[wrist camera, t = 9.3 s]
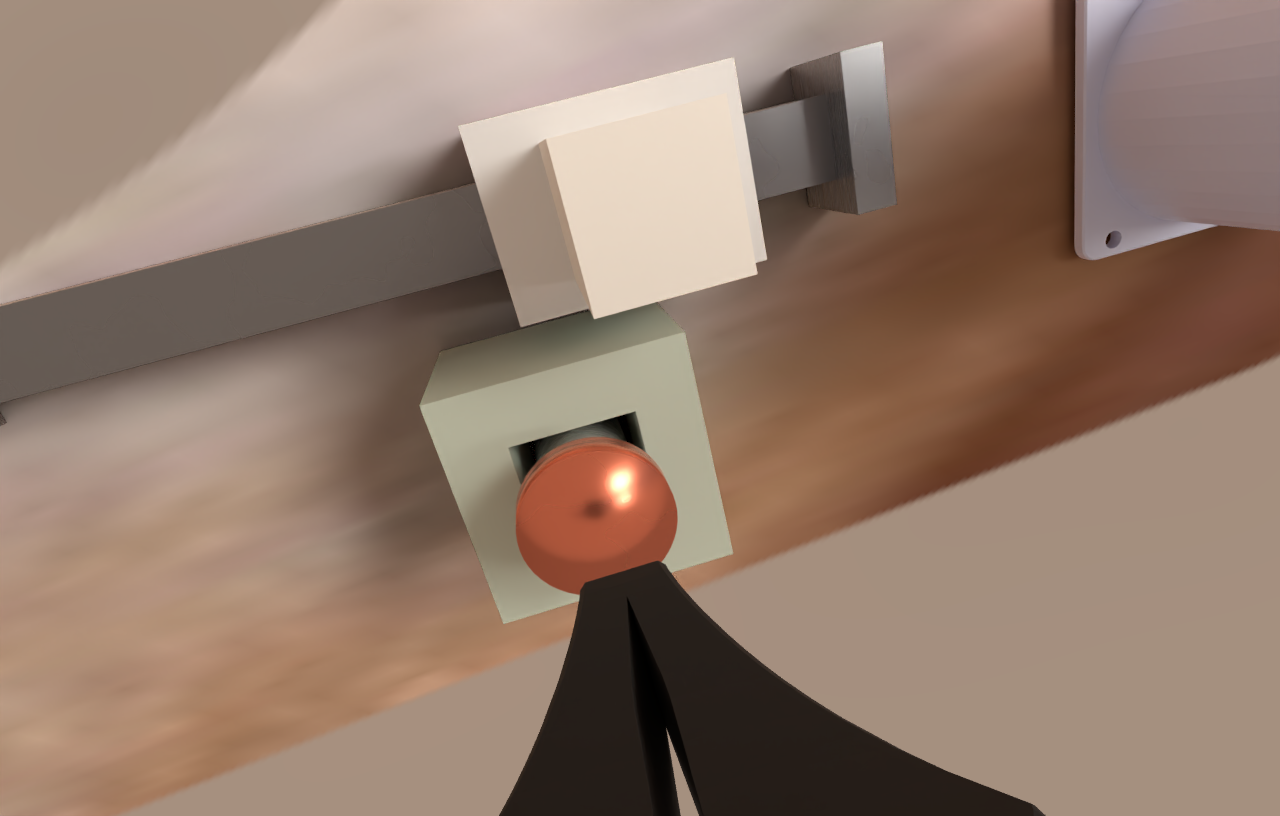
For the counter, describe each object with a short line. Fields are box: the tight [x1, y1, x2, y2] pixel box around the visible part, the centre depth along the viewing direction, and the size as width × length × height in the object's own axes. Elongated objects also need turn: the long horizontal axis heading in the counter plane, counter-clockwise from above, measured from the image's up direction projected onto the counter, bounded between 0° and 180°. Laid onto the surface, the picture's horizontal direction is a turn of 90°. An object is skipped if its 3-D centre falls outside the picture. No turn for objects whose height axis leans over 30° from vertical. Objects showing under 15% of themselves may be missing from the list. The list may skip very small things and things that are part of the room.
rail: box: [0, 41, 897, 426], centre depth 16 cm, size 24×4×3 cm, turn 104°
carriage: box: [458, 57, 767, 327], centre depth 15 cm, size 6×4×7 cm
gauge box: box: [419, 302, 733, 624], centre depth 18 cm, size 6×6×4 cm
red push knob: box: [516, 417, 678, 595], centre depth 17 cm, size 3×3×5 cm
